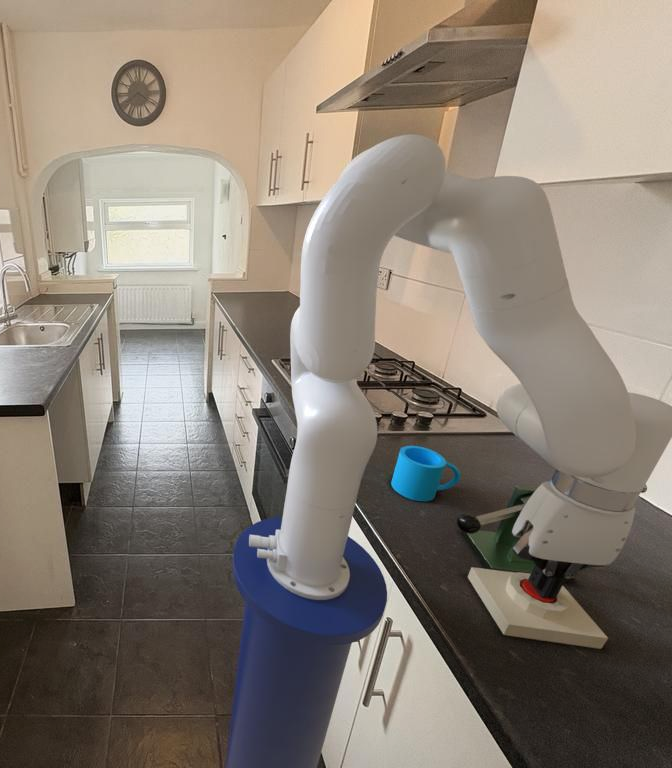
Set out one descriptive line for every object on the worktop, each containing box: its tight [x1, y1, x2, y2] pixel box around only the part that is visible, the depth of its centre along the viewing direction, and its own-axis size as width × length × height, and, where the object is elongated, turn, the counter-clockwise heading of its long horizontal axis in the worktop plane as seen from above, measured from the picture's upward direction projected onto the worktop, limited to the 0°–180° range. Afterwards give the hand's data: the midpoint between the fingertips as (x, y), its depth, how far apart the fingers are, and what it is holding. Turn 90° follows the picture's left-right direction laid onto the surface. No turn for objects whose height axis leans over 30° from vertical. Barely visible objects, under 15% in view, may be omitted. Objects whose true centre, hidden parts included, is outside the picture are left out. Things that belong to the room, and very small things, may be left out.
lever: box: [456, 495, 532, 534], centre depth 68 cm, size 13×3×3 cm, turn 79°
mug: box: [390, 445, 461, 502], centre depth 86 cm, size 12×8×8 cm
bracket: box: [462, 485, 576, 584], centre depth 68 cm, size 12×9×13 cm
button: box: [521, 580, 554, 604], centre depth 60 cm, size 4×4×2 cm
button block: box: [467, 566, 609, 650], centre depth 61 cm, size 12×10×4 cm
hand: (540, 589), depth 60 cm, fingers closed
